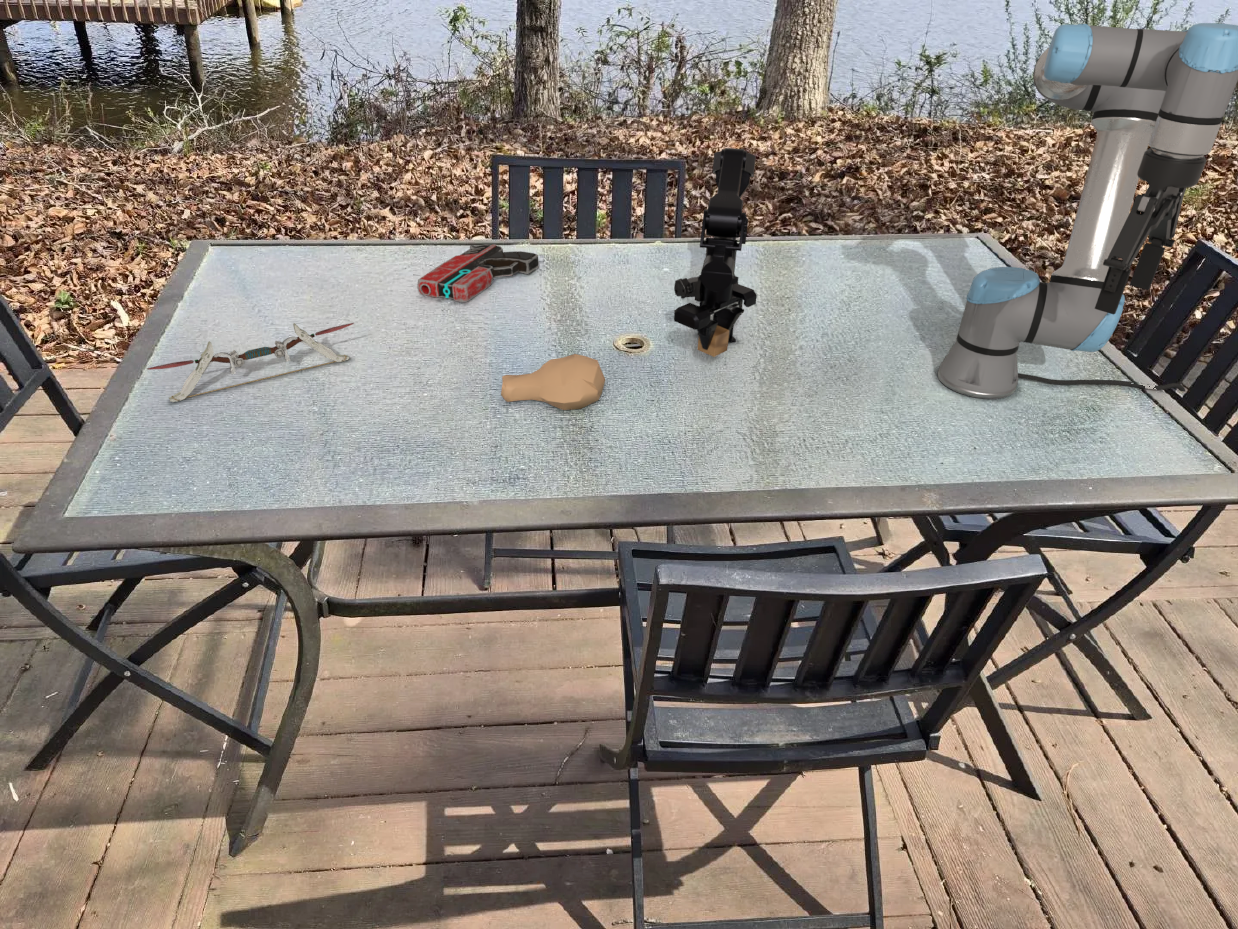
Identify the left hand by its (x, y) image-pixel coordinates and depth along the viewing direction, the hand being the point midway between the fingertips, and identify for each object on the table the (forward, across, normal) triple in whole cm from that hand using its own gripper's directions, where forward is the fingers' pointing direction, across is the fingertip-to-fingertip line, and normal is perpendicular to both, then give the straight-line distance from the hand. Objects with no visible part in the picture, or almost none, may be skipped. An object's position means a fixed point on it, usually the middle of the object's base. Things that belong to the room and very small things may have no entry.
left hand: (712, 345), depth 175 cm
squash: (+7, +30, -14) cm, 34 cm away
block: (+1, 0, 0) cm, 1 cm away
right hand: (-27, -14, +65) cm, 72 cm away
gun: (+7, +4, -71) cm, 71 cm away
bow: (+7, +67, -58) cm, 89 cm away
